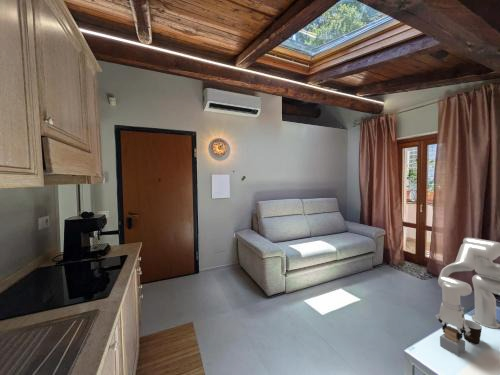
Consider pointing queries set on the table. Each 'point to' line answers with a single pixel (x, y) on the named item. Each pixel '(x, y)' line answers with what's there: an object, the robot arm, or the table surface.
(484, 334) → the table surface
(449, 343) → the stoneware box
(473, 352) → the table surface
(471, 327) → the coffee mug
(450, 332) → the walnut block
